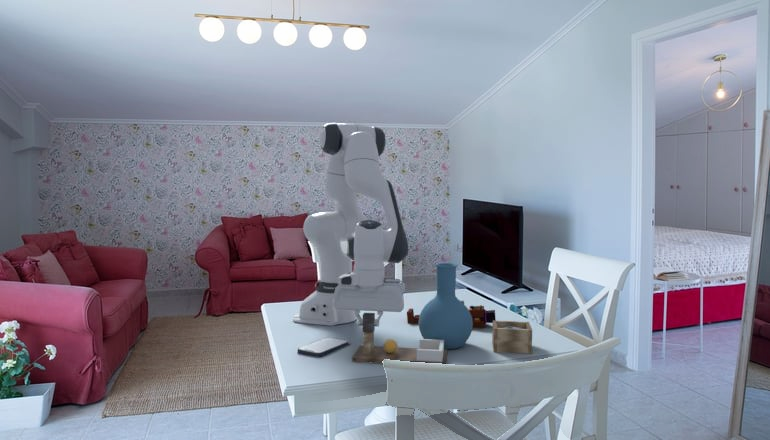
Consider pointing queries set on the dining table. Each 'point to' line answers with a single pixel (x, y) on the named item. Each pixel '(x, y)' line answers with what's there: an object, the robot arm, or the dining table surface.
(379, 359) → the board
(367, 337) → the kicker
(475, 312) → the toy
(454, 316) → the vase
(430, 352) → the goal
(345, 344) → the phone case
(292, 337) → the dining table surface
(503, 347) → the box
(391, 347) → the ball
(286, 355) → the dining table surface
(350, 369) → the dining table surface
